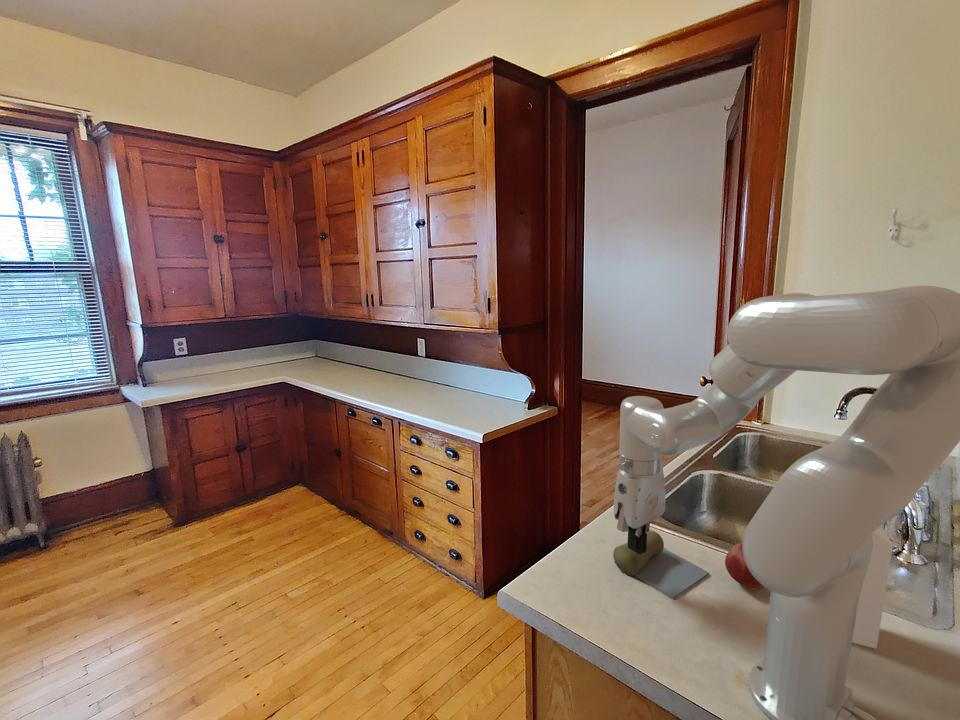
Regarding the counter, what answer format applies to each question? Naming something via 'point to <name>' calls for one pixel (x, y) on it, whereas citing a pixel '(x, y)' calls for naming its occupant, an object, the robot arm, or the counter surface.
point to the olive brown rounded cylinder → (633, 561)
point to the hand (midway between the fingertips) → (636, 549)
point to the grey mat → (671, 573)
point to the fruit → (740, 568)
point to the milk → (873, 592)
